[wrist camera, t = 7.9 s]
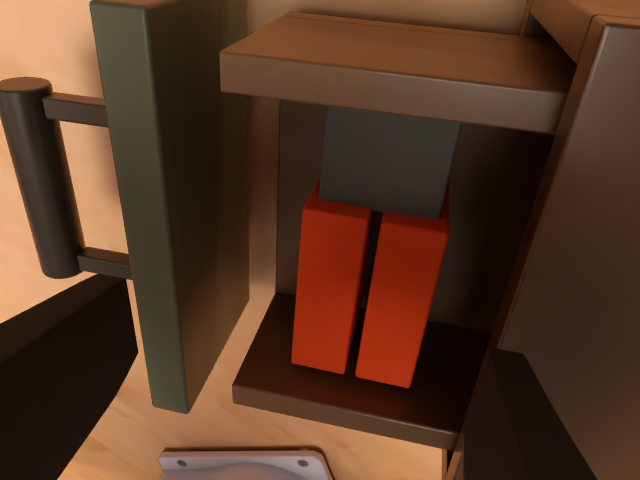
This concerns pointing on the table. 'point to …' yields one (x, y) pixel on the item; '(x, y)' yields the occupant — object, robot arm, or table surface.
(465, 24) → the table surface
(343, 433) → the table surface
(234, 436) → the table surface
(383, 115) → the grey and orange blocks
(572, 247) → the cabinet
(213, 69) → the drawer
